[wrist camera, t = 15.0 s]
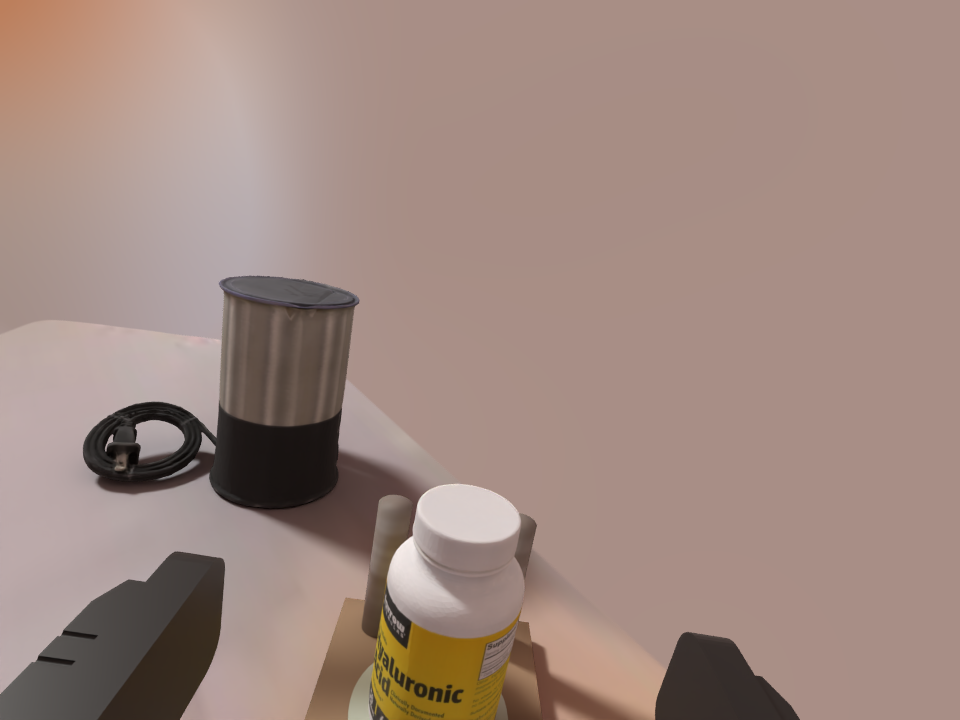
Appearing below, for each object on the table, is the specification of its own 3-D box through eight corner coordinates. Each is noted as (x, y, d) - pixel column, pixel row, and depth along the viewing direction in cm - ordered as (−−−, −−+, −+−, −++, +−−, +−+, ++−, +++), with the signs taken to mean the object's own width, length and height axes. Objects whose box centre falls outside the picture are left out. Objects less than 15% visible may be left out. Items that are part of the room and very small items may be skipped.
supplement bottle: (338, 713, 21) (366, 502, 19) (424, 640, 25) (457, 461, 23) (439, 811, 18) (489, 577, 16) (516, 709, 23) (565, 514, 20)
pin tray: (559, 904, 17) (616, 720, 15) (258, 873, 17) (276, 677, 15) (525, 637, 28) (555, 510, 26) (343, 613, 28) (360, 481, 26)
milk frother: (360, 493, 40) (385, 304, 36) (112, 559, 29) (110, 298, 25) (283, 422, 49) (296, 267, 45) (75, 451, 38) (69, 251, 34)
